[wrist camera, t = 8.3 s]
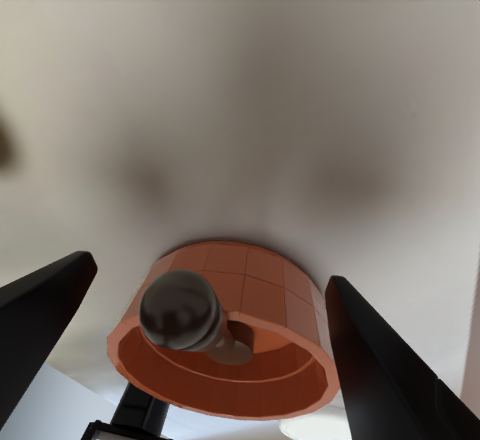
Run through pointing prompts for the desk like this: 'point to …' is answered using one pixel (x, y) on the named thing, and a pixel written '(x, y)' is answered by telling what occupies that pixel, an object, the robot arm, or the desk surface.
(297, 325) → the bowl
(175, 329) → the brown utensil
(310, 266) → the desk surface
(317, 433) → the white round lid
